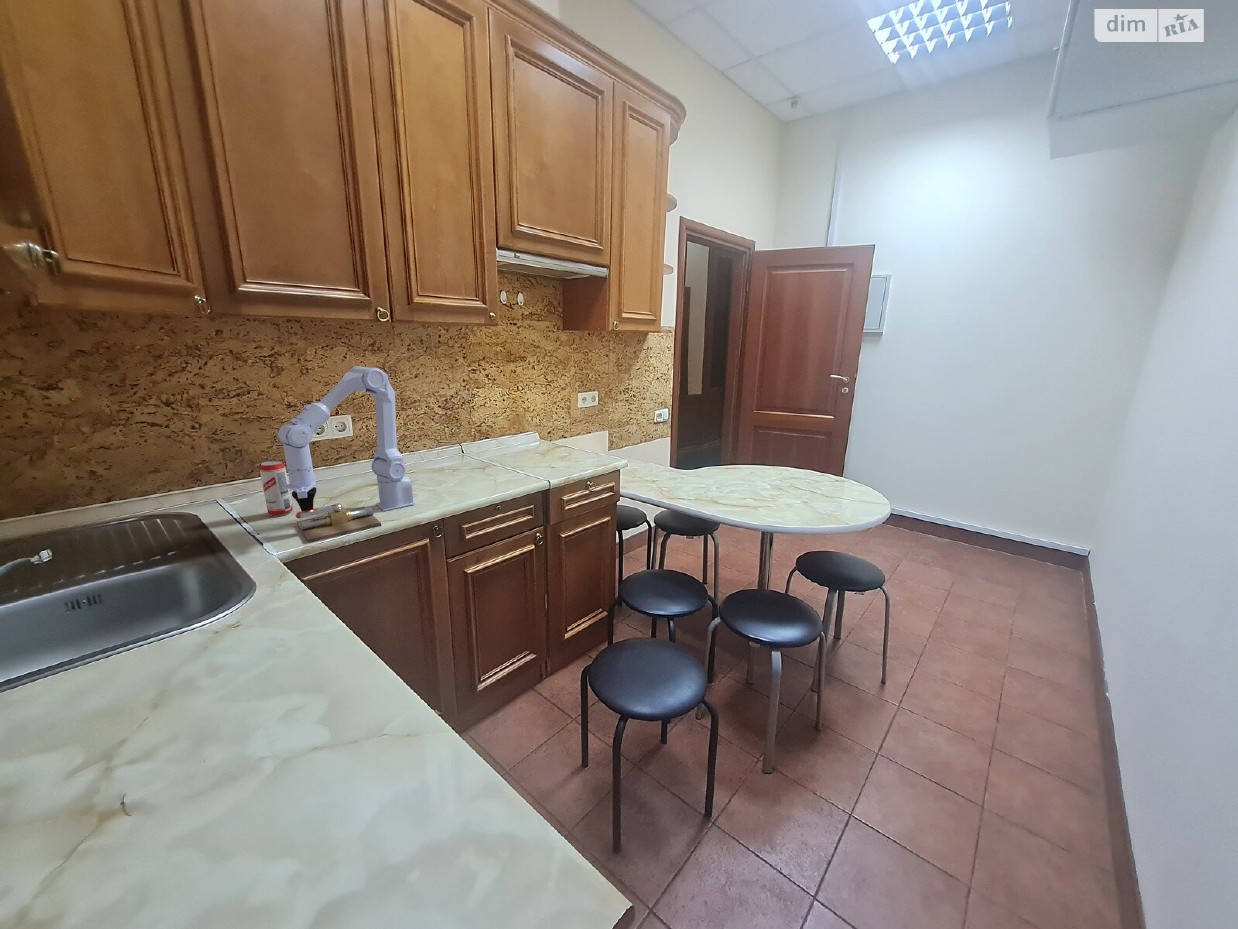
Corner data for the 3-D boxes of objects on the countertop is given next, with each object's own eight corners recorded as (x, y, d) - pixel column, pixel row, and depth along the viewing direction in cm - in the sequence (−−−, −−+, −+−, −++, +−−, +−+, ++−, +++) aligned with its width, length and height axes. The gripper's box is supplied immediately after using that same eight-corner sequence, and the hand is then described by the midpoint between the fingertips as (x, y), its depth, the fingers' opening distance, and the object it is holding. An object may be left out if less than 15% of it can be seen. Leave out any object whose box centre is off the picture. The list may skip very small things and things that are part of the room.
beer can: (280, 518, 141) (271, 466, 136) (263, 516, 142) (252, 464, 138) (298, 510, 147) (289, 460, 142) (281, 508, 148) (272, 459, 144)
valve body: (370, 514, 144) (368, 500, 143) (374, 518, 141) (372, 504, 140) (300, 529, 132) (298, 515, 131) (303, 534, 129) (301, 519, 128)
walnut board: (365, 510, 148) (364, 507, 148) (381, 525, 137) (380, 522, 136) (296, 524, 136) (296, 521, 136) (308, 543, 125) (307, 539, 125)
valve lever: (340, 507, 137) (339, 501, 137) (343, 510, 135) (342, 504, 135) (295, 517, 129) (293, 511, 129) (297, 520, 128) (296, 514, 127)
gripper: (284, 463, 132) (292, 508, 136) (279, 477, 120) (289, 526, 124) (314, 460, 136) (321, 504, 140) (312, 473, 124) (320, 521, 128)
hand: (308, 514), depth 132 cm, fingers closed
